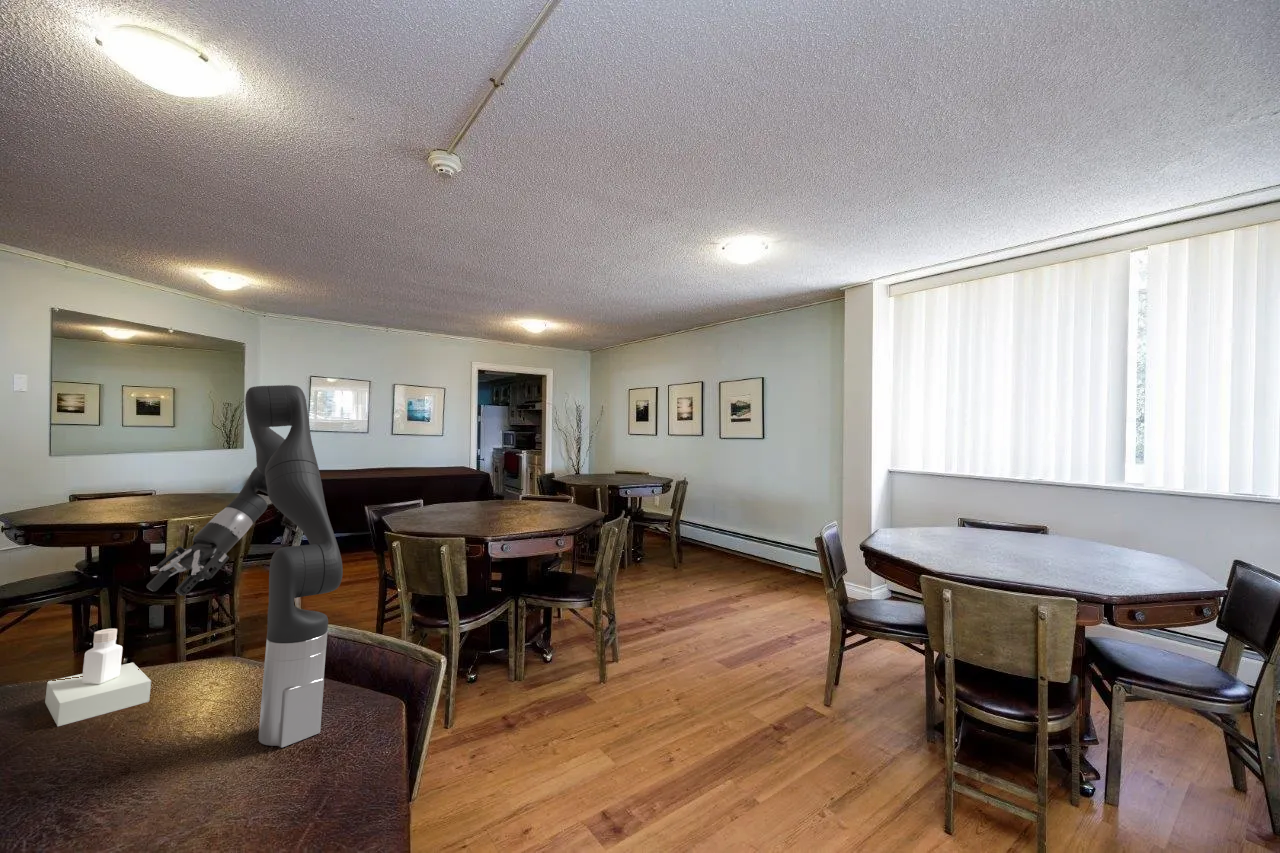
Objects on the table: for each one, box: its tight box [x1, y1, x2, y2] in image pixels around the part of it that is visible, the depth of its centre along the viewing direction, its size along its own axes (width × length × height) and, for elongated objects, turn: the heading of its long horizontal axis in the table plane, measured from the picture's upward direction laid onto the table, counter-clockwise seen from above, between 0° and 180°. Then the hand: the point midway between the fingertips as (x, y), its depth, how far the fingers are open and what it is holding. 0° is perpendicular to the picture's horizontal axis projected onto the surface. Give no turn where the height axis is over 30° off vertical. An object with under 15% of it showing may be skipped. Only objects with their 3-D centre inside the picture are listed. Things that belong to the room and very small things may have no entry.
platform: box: [44, 662, 152, 727], centre depth 99 cm, size 14×12×4 cm
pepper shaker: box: [82, 628, 124, 684], centre depth 100 cm, size 4×4×10 cm
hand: (164, 591), depth 110 cm, fingers open, 8 cm apart
